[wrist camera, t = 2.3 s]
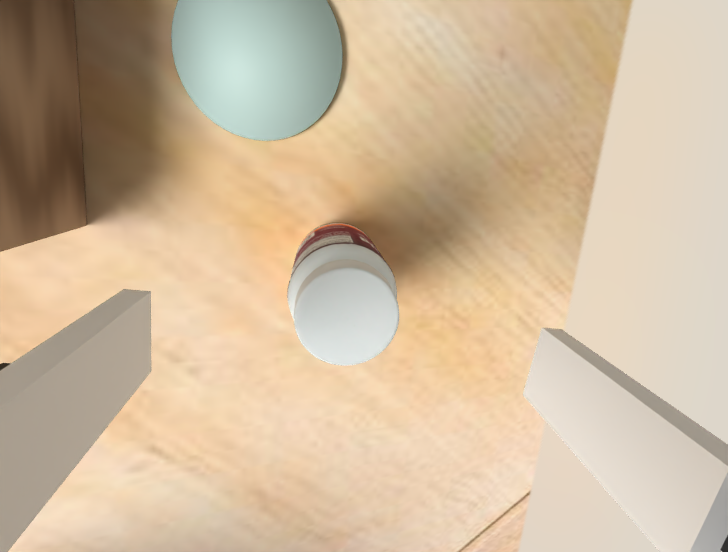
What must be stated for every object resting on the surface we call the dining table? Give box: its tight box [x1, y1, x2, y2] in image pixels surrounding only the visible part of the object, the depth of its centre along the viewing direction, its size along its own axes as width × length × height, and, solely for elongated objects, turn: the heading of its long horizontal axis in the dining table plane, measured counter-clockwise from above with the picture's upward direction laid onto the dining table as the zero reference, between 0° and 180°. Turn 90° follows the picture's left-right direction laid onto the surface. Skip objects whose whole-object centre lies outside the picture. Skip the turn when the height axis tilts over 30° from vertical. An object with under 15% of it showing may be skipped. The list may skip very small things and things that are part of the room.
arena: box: [0, 0, 87, 252], centre depth 16 cm, size 21×18×6 cm
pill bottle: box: [287, 223, 399, 365], centre depth 19 cm, size 5×5×8 cm
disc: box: [171, 0, 342, 141], centre depth 19 cm, size 8×8×1 cm
